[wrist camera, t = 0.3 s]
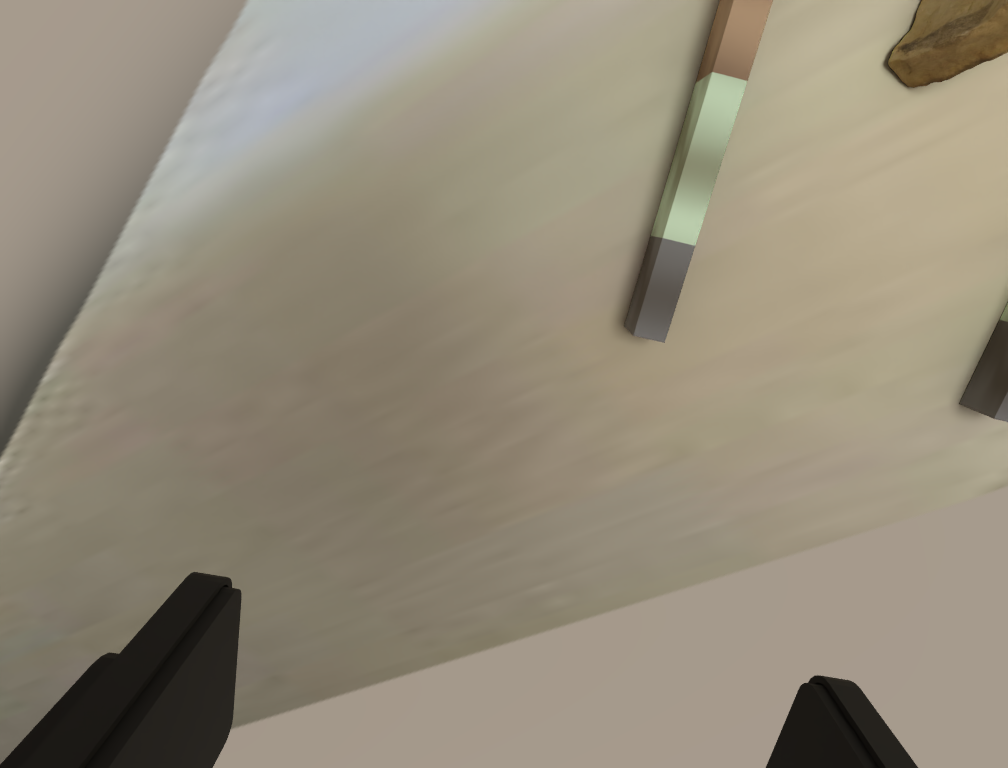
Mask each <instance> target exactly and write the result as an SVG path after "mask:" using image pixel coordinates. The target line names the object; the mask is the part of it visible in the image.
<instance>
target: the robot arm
mask: <svg viewBox="0 0 1008 768" xmlns="http://www.w3.org/2000/svg"><path fill="white" fill-rule="evenodd" d="M240 610H241V590H239V589H235V588H232V582H231V579H230V578H228V577H222V576H216V575H210V574H204V573H198V572H193V573H191V574H190V575H188V576H187V577H186V578H185V580H184V581H183V582H182V583H181V584H180V585H179V586H178V588H177V589H176V590H175V591H174V592H173V593H172V594H171V596H170V597H169V598H168V599H167V600H166V601H165V602H164V604H163V605H162V606H161V607H160V608H159V609H158V610H157V612H156V613H155V614H154V615H153V616H152V617H151V618H150V620H149V621H148V622H147V623H146V624H145V625H144V626H143V628H142V629H141V630H140V631H139V632H138V633H137V634H136V635H135V637H134V638H133V639H132V640H131V641H130V642H129V643H128V645H127V646H126V647H125V648H124V649H123V650H122V651H121V653H120V654H116V653H107V654H105V655H103V656H101V657H100V658H99V659H98V660H97V661H95V662H94V663H93V664H92V665H91V666H90V667H89V668H88V669H87V671H86V672H85V673H84V674H83V675H82V676H81V677H80V678H79V679H78V680H77V681H76V683H75V684H74V685H73V686H72V687H71V688H70V689H69V690H68V691H67V692H66V693H65V695H64V696H63V697H62V698H61V699H60V700H59V701H58V702H57V703H56V704H55V705H54V707H53V708H52V709H51V710H50V711H49V712H48V713H47V714H46V715H45V716H44V718H43V719H42V720H41V721H40V722H39V723H38V724H37V725H36V726H35V727H34V728H33V730H32V731H31V732H30V733H29V734H28V735H27V736H26V737H25V738H24V739H23V740H22V742H21V743H20V744H19V745H18V746H17V747H16V748H15V749H14V750H13V751H12V752H11V754H10V755H9V756H8V757H7V758H6V759H5V760H4V761H3V762H2V763H1V764H0V768H213V766H214V764H215V762H216V760H217V758H218V756H219V754H220V752H221V751H222V749H223V747H224V744H225V743H226V740H227V738H228V735H229V732H230V729H231V725H232V720H233V710H234V695H235V681H236V667H237V653H238V638H239V624H240ZM766 768H918V767H917V766H916V764H915V763H914V762H913V760H912V759H911V757H910V756H909V755H908V753H907V752H906V751H905V749H904V748H903V746H902V745H901V744H900V742H899V741H898V740H897V738H896V737H895V735H894V734H893V733H892V731H891V730H890V729H889V727H888V726H887V724H886V723H885V722H884V720H883V719H882V718H881V716H880V715H879V714H878V712H877V711H876V709H875V708H874V707H873V705H872V704H871V703H870V701H869V700H868V699H867V697H866V696H865V694H864V693H863V692H862V690H861V689H860V688H859V687H858V686H857V685H856V684H855V683H854V682H852V681H849V680H843V679H837V678H831V677H825V676H814V677H812V678H811V679H810V681H809V682H808V683H804V684H802V685H801V686H800V688H799V690H798V693H797V695H796V697H795V700H794V702H793V704H792V707H791V709H790V711H789V714H788V716H787V719H786V721H785V724H784V726H783V728H782V730H781V733H780V735H779V738H778V740H777V742H776V745H775V747H774V750H773V752H772V754H771V757H770V759H769V762H768V764H767V766H766Z"/></svg>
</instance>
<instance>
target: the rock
mask: <svg viewBox="0 0 1008 768" xmlns="http://www.w3.org/2000/svg"><path fill="white" fill-rule="evenodd" d="M1007 52H1008V0H922V1H921V3H920V6H919V8H918V10H917V13H916V19H915V21H914V24H913V26H912V28H911V30H910V31H909V32H908V33H907V34H906V35H905V36H904V38H903V39H902V40H901V42H900V43H899V44H898V45H897V46H896V47H895V48H894V50H893V51H892V54H891V56H890V59H889V61H888V65H889V66H890V68H891V69H892V70H893V71H894V72H895V73H896V74H897V75H898V76H899V78H900V79H901V80H902V82H903V83H905V84H906V85H907V86H908V87H913V88H914V87H918V86H927V85H929V84H930V83H933V82H942V81H944V80H948V79H951V78H952V77H954V76H956V75H958V74H960V73H962V72H964V71H966V70H968V69H971V68H973V67H975V66H977V65H979V64H981V63H983V62H986V61H990V60H993V59H995V58H997V57H999V56H1001V55H1003V54H1005V53H1007Z"/></svg>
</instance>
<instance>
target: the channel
mask: <svg viewBox="0 0 1008 768" xmlns="http://www.w3.org/2000/svg"><path fill="white" fill-rule="evenodd" d="M772 2H773V0H720V2H719V5H718V9H717V12H716V15H715V19H714V22H713V26H712V29H711V32H710V36H709V39H708V43H707V46H706V49H705V53H704V56H703V60H702V63H701V66H700V70H699V73H698V77H697V80H696V83H695V87H694V90H693V94H692V97H691V100H690V104H689V107H688V111H687V114H686V117H685V121H684V124H683V128H682V131H681V134H680V138H679V141H678V145H677V148H676V152H675V155H674V158H673V162H672V165H671V169H670V172H669V175H668V179H667V182H666V186H665V189H664V192H663V196H662V199H661V203H660V206H659V209H658V213H657V216H656V220H655V223H654V226H653V230H652V233H651V237H650V240H649V243H648V247H647V250H646V254H645V257H644V260H643V264H642V267H641V271H640V274H639V277H638V281H637V284H636V288H635V291H634V294H633V298H632V301H631V305H630V308H629V311H628V315H627V318H626V322H625V325H624V327H625V328H626V329H627V330H628V331H629V332H630V333H631V334H632V335H633V336H637V337H642V338H646V339H650V340H655V341H659V342H663V343H665V339H666V336H667V333H668V330H669V327H670V324H671V321H672V317H673V314H674V311H675V308H676V305H677V302H678V298H679V295H680V292H681V289H682V286H683V283H684V280H685V276H686V273H687V270H688V267H689V264H690V261H691V257H692V254H693V251H694V248H695V245H696V242H697V238H698V235H699V232H700V229H701V226H702V223H703V220H704V216H705V213H706V210H707V207H708V204H709V201H710V197H711V194H712V191H713V188H714V185H715V182H716V179H717V175H718V172H719V169H720V166H721V163H722V160H723V156H724V153H725V150H726V147H727V144H728V141H729V137H730V134H731V131H732V128H733V125H734V122H735V119H736V115H737V112H738V109H739V106H740V103H741V100H742V96H743V93H744V90H745V87H746V84H747V81H748V77H749V74H750V71H751V68H752V65H753V62H754V59H755V55H756V52H757V49H758V46H759V43H760V40H761V36H762V33H763V30H764V27H765V24H766V21H767V18H768V14H769V11H770V8H771V5H772ZM959 404H961V405H963V406H966V407H968V408H970V409H973V410H975V411H977V412H980V413H982V414H984V415H987V416H989V417H991V418H993V419H997V420H1002V421H1006V422H1008V304H1007V306H1006V308H1005V310H1004V312H1003V314H1002V316H1001V318H1000V320H999V322H998V324H997V326H996V329H995V331H994V333H993V335H992V337H991V339H990V341H989V343H988V345H987V347H986V349H985V351H984V353H983V356H982V358H981V360H980V362H979V364H978V366H977V368H976V370H975V372H974V374H973V376H972V378H971V380H970V383H969V385H968V387H967V389H966V391H965V393H964V395H963V397H962V399H961V401H960V403H959Z"/></svg>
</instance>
